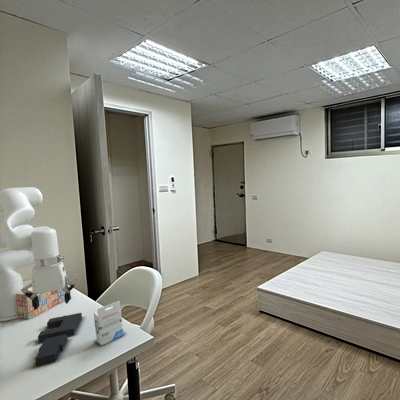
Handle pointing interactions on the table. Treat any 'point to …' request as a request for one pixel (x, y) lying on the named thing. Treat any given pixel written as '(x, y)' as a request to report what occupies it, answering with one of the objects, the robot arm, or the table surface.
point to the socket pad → (61, 326)
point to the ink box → (108, 323)
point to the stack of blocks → (45, 302)
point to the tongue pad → (51, 349)
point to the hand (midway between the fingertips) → (52, 305)
